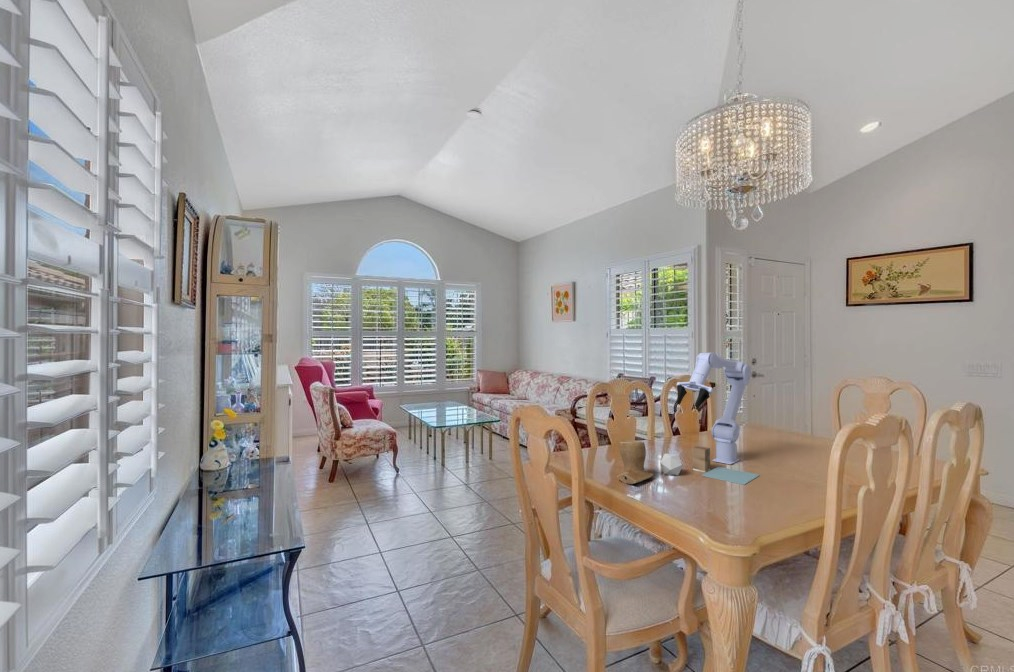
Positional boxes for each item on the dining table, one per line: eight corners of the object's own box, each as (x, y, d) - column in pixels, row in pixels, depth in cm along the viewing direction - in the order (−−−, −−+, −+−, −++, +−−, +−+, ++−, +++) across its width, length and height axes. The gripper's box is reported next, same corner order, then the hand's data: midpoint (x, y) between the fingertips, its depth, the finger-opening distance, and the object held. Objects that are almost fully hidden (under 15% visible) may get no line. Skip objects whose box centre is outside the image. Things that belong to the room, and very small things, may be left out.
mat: (718, 467, 195) (718, 466, 195) (759, 475, 184) (759, 474, 184) (701, 475, 184) (701, 474, 184) (744, 484, 172) (744, 484, 172)
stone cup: (630, 472, 190) (630, 435, 190) (657, 478, 181) (657, 440, 181) (608, 480, 179) (608, 441, 179) (635, 487, 171) (635, 446, 171)
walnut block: (698, 467, 196) (698, 445, 196) (710, 469, 192) (710, 447, 192) (692, 469, 192) (692, 447, 192) (705, 472, 189) (704, 450, 189)
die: (684, 474, 189) (671, 452, 193) (689, 469, 181) (676, 446, 186) (666, 482, 188) (653, 460, 192) (671, 477, 180) (657, 454, 185)
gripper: (679, 369, 195) (666, 396, 190) (713, 374, 184) (701, 402, 179) (684, 378, 199) (672, 405, 194) (719, 384, 188) (707, 412, 183)
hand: (687, 404), depth 187 cm, fingers open, 7 cm apart
